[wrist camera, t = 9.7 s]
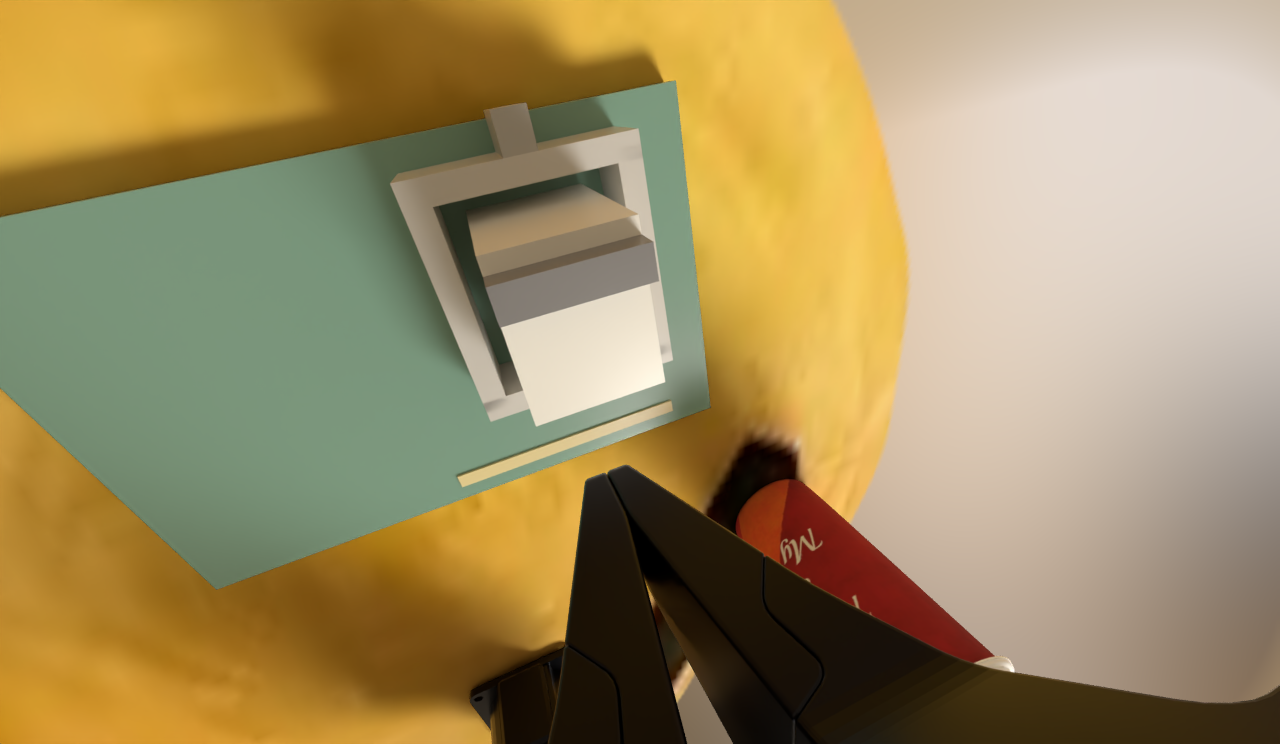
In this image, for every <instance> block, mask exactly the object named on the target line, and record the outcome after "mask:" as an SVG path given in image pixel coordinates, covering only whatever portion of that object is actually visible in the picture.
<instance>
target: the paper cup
mask: <svg viewBox="0 0 1280 744" xmlns="http://www.w3.org/2000/svg"><path fill="white" fill-rule="evenodd" d="M736 533H737V535H738V537H740V538H741V539H743V540H744V541H746V542H747V543H749V544H750V545H752V546H753V547H755V548H757V549H758V550H760V551H761V552H763V553H764V557H765V556H769V557H771V558H772V559H774V560H775V561H777V562H778V563H780V564H781V565H783V566H784V567H786V568H788V569H789V570H791V571H792V572H794V573H796V574H797V575H799V576H801V577H802V578H804V579H805V580H807V581H809V582H810V583H812V584H814V585H815V586H817V587H819V588H821V589H823V590H825V591H827V592H828V593H830V594H832V595H834V596H836V597H838V598H840V599H841V600H843V601H845V602H847V603H849V604H851V605H853V606H855V607H857V608H859V609H861V610H863V611H865V612H867V613H868V614H870V615H872V616H874V617H876V618H878V619H880V620H882V621H884V622H886V623H888V624H890V625H892V626H894V627H896V628H898V629H900V630H902V631H904V632H906V633H908V634H910V635H911V636H913V637H915V638H917V639H919V640H921V641H923V642H925V643H927V644H929V645H931V646H933V647H935V648H937V649H939V650H941V651H944V652H946V653H948V654H951V655H953V656H956V657H958V658H960V659H963V660H966V661H969V662H972V663H975V664H978V665H982V666H986V667H989V668H993V669H998V670H1004V671H1010V672H1014V667H1013V665H1012V663H1011V661H1010V660H1009V659H1008V658H1006V657H1003V656H994V655H993V654H992V653H991V652H990V651H989V650H988V649H986V648H985V647H984V646H983V645H982V644H981V643H980V642H979V641H978V640H977V639H975V638H974V637H973V636H972V635H971V634H970V633H969V632H968V631H967V630H965V629H964V628H963V627H962V626H961V625H960V624H959V623H958V622H957V621H956V620H955V619H954V618H952V617H951V616H950V615H949V614H948V613H947V612H946V611H945V610H944V609H943V608H941V607H940V606H939V605H938V604H937V603H936V602H935V601H934V600H933V599H932V598H930V597H929V596H928V595H927V594H926V593H925V592H924V591H923V590H922V589H921V588H920V587H918V586H917V585H916V584H915V583H914V582H913V581H912V580H911V579H910V578H908V577H907V576H906V575H905V574H904V573H903V572H902V571H901V570H900V569H899V568H898V567H897V566H895V565H894V564H893V563H892V562H891V561H890V560H889V559H888V558H887V557H886V556H884V555H883V554H882V553H881V552H880V551H879V550H878V549H877V548H876V547H875V546H873V545H872V544H871V543H870V542H869V541H867V539H865V538H864V537H863V536H862V535H861V534H860V533H859V532H858V531H857V530H856V529H855V528H854V527H852V526H851V525H850V524H849V523H848V522H847V521H846V520H845V519H844V518H842V517H841V516H840V515H839V514H838V513H837V512H836V511H835V510H834V509H832V508H831V507H830V506H829V505H828V504H827V503H826V502H825V501H823V500H822V499H821V498H820V497H819V496H818V495H817V494H815V493H814V492H813V491H812V490H811V489H810V488H808V487H807V486H806V485H805V484H803V483H802V482H800V481H798V480H795V479H782V480H778V481H775V482H772V483H770V484H768V485H766V486H764V487H763V488H761V489H760V490H758V491H757V492H756V493H754V494H753V495H752V496H751V497H750V498H749V499H748V500H747V501H746V503H745V504H744V505H743V507H742V508H741V510H740V512H739V514H738V516H737V520H736Z"/></svg>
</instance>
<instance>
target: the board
mask: <svg viewBox="0 0 1280 744" xmlns="http://www.w3.org/2000/svg"><path fill="white" fill-rule="evenodd" d="M483 112H484V115H485V118H484V119H479V120H474V121H469V122H465V123H460V124H455V125H450V126H445V127H440V128H435V129H430V130H425V131H420V132H415V133H410V134H405V135H400V136H395V137H390V138H386V139H381V140H376V141H371V142H366V143H361V144H356V145H351V146H346V147H341V148H336V149H331V150H326V151H321V152H316V153H311V154H307V155H302V156H297V157H292V158H287V159H282V160H277V161H272V162H267V163H262V164H257V165H252V166H247V167H242V168H237V169H232V170H228V171H223V172H218V173H213V174H208V175H203V176H198V177H193V178H188V179H183V180H178V181H173V182H168V183H163V184H158V185H153V186H149V187H144V188H139V189H134V190H129V191H124V192H119V193H114V194H109V195H104V196H99V197H94V198H89V199H84V200H79V201H74V202H70V203H65V204H60V205H55V206H50V207H45V208H40V209H35V210H30V211H25V212H20V213H15V214H10V215H5V216H0V388H1V389H2V390H3V391H4V392H5V393H6V394H7V395H8V396H9V397H10V398H11V399H12V400H14V401H15V402H16V403H17V404H18V405H19V406H20V407H21V408H22V409H23V410H24V411H25V412H26V413H27V414H29V415H30V416H31V417H32V418H33V419H34V420H35V421H36V422H37V423H38V424H39V425H40V426H41V427H43V428H44V429H45V430H46V431H47V432H48V433H49V434H50V435H51V436H52V437H53V438H54V439H55V440H56V441H58V442H59V443H60V444H61V445H62V446H63V447H64V448H65V449H66V450H67V451H68V452H69V453H70V454H71V455H73V456H74V457H75V458H76V459H77V460H78V461H79V462H80V463H81V464H82V465H83V466H84V467H85V468H86V469H88V470H89V471H90V472H91V473H92V474H93V475H94V476H95V477H96V478H97V479H98V480H99V481H100V482H101V483H103V484H104V485H105V486H106V487H107V488H108V489H109V490H110V491H111V492H112V493H113V494H114V495H115V496H116V497H118V498H119V499H120V500H121V501H122V502H123V503H124V504H125V505H126V506H127V507H128V508H129V509H130V510H132V511H133V512H134V513H135V514H136V515H137V516H138V517H139V518H140V519H141V520H142V521H143V522H144V523H145V524H147V525H148V526H149V527H150V528H151V529H152V530H153V531H154V532H155V533H156V534H157V535H158V536H159V537H160V538H162V539H163V540H164V541H165V542H166V543H167V544H168V545H169V546H170V547H171V548H172V549H173V550H174V551H175V552H177V553H178V554H179V555H180V556H181V557H182V558H183V559H184V560H185V561H186V562H187V563H188V564H189V565H190V566H192V567H193V568H194V569H195V570H196V571H197V572H198V573H199V574H200V575H201V576H202V577H203V578H204V579H205V580H207V581H208V582H209V583H210V584H211V585H212V586H213V587H214V588H215V589H216V590H217V589H220V588H223V587H225V586H228V585H231V584H233V583H236V582H239V581H242V580H244V579H247V578H250V577H252V576H255V575H258V574H260V573H263V572H266V571H269V570H271V569H274V568H277V567H279V566H282V565H285V564H288V563H290V562H293V561H296V560H298V559H301V558H304V557H307V556H309V555H312V554H315V553H317V552H320V551H323V550H326V549H328V548H331V547H334V546H336V545H339V544H342V543H345V542H347V541H350V540H353V539H355V538H358V537H361V536H364V535H366V534H369V533H372V532H374V531H377V530H380V529H383V528H385V527H388V526H391V525H393V524H396V523H399V522H402V521H404V520H407V519H410V518H412V517H415V516H418V515H421V514H423V513H426V512H429V511H431V510H434V509H437V508H440V507H442V506H445V505H448V504H450V503H453V502H456V501H459V500H461V499H464V498H467V497H469V496H472V495H475V494H478V493H480V492H483V491H486V490H488V489H491V488H494V487H497V486H499V485H502V484H505V483H507V482H510V481H513V480H516V479H518V478H521V477H524V476H526V475H529V474H532V473H535V472H537V471H540V470H543V469H545V468H548V467H551V466H554V465H556V464H559V463H562V462H564V461H567V460H570V459H573V458H575V457H578V456H581V455H583V454H586V453H589V452H592V451H594V450H597V449H600V448H602V447H605V446H608V445H611V444H613V443H616V442H619V441H621V440H624V439H627V438H630V437H632V436H635V435H638V434H640V433H643V432H646V431H649V430H651V429H654V428H657V427H659V426H662V425H665V424H668V423H670V422H673V421H676V420H678V419H681V418H684V417H686V416H689V415H692V414H695V413H697V412H700V411H703V410H705V409H708V408H711V406H710V397H709V387H708V378H707V369H706V359H705V350H704V341H703V331H702V322H701V312H700V303H699V294H698V284H697V275H696V265H695V256H694V247H693V237H692V228H691V219H690V209H689V200H688V190H687V181H686V172H685V162H684V153H683V143H682V134H681V125H680V115H679V106H678V97H677V87H676V81H668V82H662V83H657V84H652V85H647V86H642V87H637V88H632V89H628V90H623V91H618V92H613V93H608V94H603V95H598V96H593V97H588V98H583V99H578V100H573V101H568V102H563V103H558V104H553V105H548V106H544V107H539V108H534V109H529V110H528V107H527V104H526V103H517V104H511V105H506V106H501V107H496V108H491V109H486V110H483ZM580 183H581V184H583V185H584V186H586V187H588V188H590V189H592V190H594V191H596V192H598V193H599V194H601V195H603V196H605V197H607V198H609V199H611V200H613V201H615V202H616V203H618V204H620V205H622V206H624V207H626V208H628V209H630V210H632V211H633V212H635V213H637V214H639V220H640V226H641V233H642V235H644V236H645V237H647V238H648V239H650V240H652V241H653V242H654V249H655V256H656V263H657V270H658V276H659V281H658V282H654V283H651V284H650V289H651V295H652V302H653V308H654V314H655V320H656V327H657V333H658V339H659V346H660V352H661V358H662V364H663V371H664V377H665V382H664V383H661V384H658V385H655V386H652V387H650V388H647V389H644V390H641V391H638V392H635V393H632V394H629V395H626V396H623V397H621V398H618V399H615V400H612V401H609V402H606V403H603V404H600V405H597V406H594V407H591V408H589V409H586V410H583V411H580V412H577V413H574V414H571V415H568V416H565V417H562V418H560V419H557V420H554V421H551V422H548V423H545V424H542V425H539V426H536V425H535V422H534V419H533V417H532V414H531V411H530V408H529V405H528V403H527V400H526V397H525V394H524V391H523V388H522V386H521V383H520V380H519V377H518V374H517V372H516V369H515V366H514V363H513V360H512V358H511V355H510V352H509V349H508V346H507V343H506V341H505V338H504V335H503V332H502V329H501V328H500V327H499V324H498V322H497V319H496V316H495V313H494V310H493V308H492V305H491V302H490V299H489V296H488V293H487V291H486V288H485V284H484V279H483V276H482V273H481V270H480V267H479V265H478V262H477V259H476V256H475V251H474V247H473V242H472V237H471V233H470V228H469V224H468V219H467V214H466V211H467V210H471V209H475V208H479V207H484V206H488V205H492V204H496V203H500V202H505V201H509V200H513V199H517V198H521V197H526V196H530V195H534V194H538V193H543V192H547V191H551V190H555V189H559V188H564V187H568V186H572V185H576V184H580Z"/></svg>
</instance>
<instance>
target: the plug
mask: <svg viewBox="0 0 1280 744" xmlns="http://www.w3.org/2000/svg"><path fill="white" fill-rule="evenodd" d="M466 214H467V219H468V224H469V228H470V233H471V237H472V242H473V247H474V251H475V256H476V259H477V262H478V265H479V267H480V270H481V273H482V276H483V279H484V284H485V288H486V291H487V293H488V296H489V299H490V302H491V305H492V308H493V310H494V313H495V316H496V319H497V322H498V324H499V327H500V328H501V329H502V332H503V335H504V338H505V341H506V343H507V346H508V349H509V352H510V355H511V358H512V360H513V363H514V366H515V369H516V372H517V374H518V377H519V380H520V383H521V386H522V388H523V391H524V394H525V397H526V400H527V403H528V405H529V408H530V411H531V414H532V417H533V419H534V422H535V425H536V426H539V425H542V424H545V423H548V422H551V421H554V420H557V419H560V418H562V417H565V416H568V415H571V414H574V413H577V412H580V411H583V410H586V409H589V408H591V407H594V406H597V405H600V404H603V403H606V402H609V401H612V400H615V399H618V398H621V397H623V396H626V395H629V394H632V393H635V392H638V391H641V390H644V389H647V388H650V387H652V386H655V385H658V384H661V383H664V382H665V377H664V371H663V364H662V358H661V352H660V346H659V339H658V333H657V327H656V320H655V314H654V308H653V302H652V295H651V289H650V284H651V283H654V282H658V281H659V276H658V270H657V263H656V256H655V249H654V242H653V241H652V240H650V239H648V238H647V237H645V236H644V235H642V233H641V226H640V220H639V214H637V213H635V212H633V211H632V210H630V209H628V208H626V207H624V206H622V205H620V204H618V203H616V202H615V201H613V200H611V199H609V198H607V197H605V196H603V195H601V194H599V193H598V192H596V191H594V190H592V189H590V188H588V187H586V186H584V185H583V184H581V183H580V184H576V185H572V186H568V187H564V188H559V189H555V190H551V191H547V192H543V193H538V194H534V195H530V196H526V197H521V198H517V199H513V200H509V201H505V202H500V203H496V204H492V205H488V206H484V207H479V208H475V209H471V210H467V211H466Z"/></svg>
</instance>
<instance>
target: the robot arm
mask: <svg viewBox="0 0 1280 744" xmlns="http://www.w3.org/2000/svg"><path fill="white" fill-rule="evenodd" d="M646 584H647V586H648V588H649V590H650V592H651V594H652V596H653V597H654V599H655V601H656V603H657V605H658V607H659V608H660V610H661V612H662V614H663V616H664V618H665V619H666V621H667V623H668V625H669V627H670V629H671V630H672V632H673V634H674V636H675V638H676V640H677V641H678V643H679V645H680V647H681V649H682V651H683V652H684V654H685V656H686V658H687V660H688V662H689V663H690V665H691V667H692V669H693V671H694V673H695V674H696V676H697V678H698V680H699V682H700V684H701V685H702V687H703V689H704V691H705V692H706V694H707V696H708V698H709V700H710V702H711V704H712V706H713V707H714V709H715V711H716V713H717V715H718V717H719V718H720V720H721V722H722V724H723V726H724V727H725V729H726V731H727V733H728V735H729V737H730V738H731V740H732V742H733V744H1280V685H1278V686H1277V687H1276V688H1274V689H1273V690H1271V691H1270V692H1268V693H1267V694H1266V695H1264V696H1262V697H1259V698H1256V699H1253V700H1249V701H1241V702H1233V703H1209V702H1208V703H1207V702H1197V701H1188V700H1179V699H1172V698H1166V697H1160V696H1154V695H1148V694H1142V693H1136V692H1130V691H1124V690H1117V689H1112V688H1106V687H1100V686H1094V685H1088V684H1082V683H1076V682H1069V681H1064V680H1058V679H1051V678H1045V677H1039V676H1033V675H1028V674H1022V673H1015V672H1010V671H1004V670H998V669H993V668H989V667H986V666H982V665H978V664H975V663H972V662H969V661H966V660H963V659H960V658H958V657H956V656H953V655H951V654H948V653H946V652H944V651H941V650H939V649H937V648H935V647H933V646H931V645H929V644H927V643H925V642H923V641H921V640H919V639H917V638H915V637H913V636H911V635H910V634H908V633H906V632H904V631H902V630H900V629H898V628H896V627H894V626H892V625H890V624H888V623H886V622H884V621H882V620H880V619H878V618H876V617H874V616H872V615H870V614H868V613H867V612H865V611H863V610H861V609H859V608H857V607H855V606H853V605H851V604H849V603H847V602H845V601H843V600H841V599H840V598H838V597H836V596H834V595H832V594H830V593H828V592H827V591H825V590H823V589H821V588H819V587H817V586H815V585H814V584H812V583H810V582H809V581H807V580H805V579H804V578H802V577H801V576H799V575H797V574H796V573H794V572H792V571H791V570H789V569H788V568H786V567H784V566H783V565H781V564H780V563H778V562H777V561H775V560H774V559H772V558H771V557H769V556H765V557H764V553H763V552H761V551H760V550H758V549H757V548H755V547H753V546H752V545H750V544H749V543H747V542H746V541H744V540H743V539H741V538H740V537H738V536H737V535H735V534H733V533H732V532H730V531H729V530H727V529H726V528H724V527H723V526H721V525H720V524H718V523H717V522H715V521H713V520H712V519H710V518H709V517H707V516H706V515H704V514H703V513H701V512H700V511H698V510H697V509H695V508H693V507H692V506H690V505H689V504H687V503H686V502H684V501H683V500H681V499H680V498H678V497H677V496H675V495H673V494H672V493H670V492H669V491H667V490H666V489H664V488H663V487H661V486H660V485H658V484H657V483H655V482H653V481H652V480H650V479H649V478H647V477H646V476H644V475H643V474H641V473H640V472H638V471H637V470H635V469H633V468H632V467H630V466H629V465H623V466H620V467H617V468H615V469H612V470H610V471H609V472H608V474H605V473H602V474H599V475H596V476H594V477H591V478H588V479H587V480H586V482H585V486H584V494H583V502H582V510H581V518H580V526H579V534H578V542H577V550H576V558H575V566H574V574H573V582H572V590H571V598H570V606H569V614H568V622H567V630H566V638H565V645H566V647H565V648H563V649H561V650H558V651H556V652H554V653H552V654H550V655H547V656H545V657H543V658H541V659H539V660H536V661H534V662H532V663H530V664H528V665H525V666H523V667H521V668H519V669H517V670H514V671H512V672H510V673H508V674H506V675H503V676H501V677H499V678H497V679H495V680H492V681H490V682H488V683H486V684H484V685H481V686H479V687H477V688H475V689H473V690H472V691H471V692H470V694H469V695H470V703H471V705H472V706H473V707H474V708H475V710H476V711H477V712H478V714H479V715H480V716H481V718H482V719H483V720H484V722H485V723H486V724H487V726H488V727H489V728H490V730H491V736H492V744H687V741H686V737H685V733H684V729H683V726H682V722H681V718H680V714H679V710H678V706H677V702H676V698H675V694H674V691H673V687H672V683H671V679H670V675H669V671H668V667H667V664H666V660H665V656H664V652H663V648H662V644H661V640H660V637H659V633H658V629H657V625H656V621H655V617H654V613H653V610H652V606H651V602H650V598H649V594H648V590H647V586H646Z"/></svg>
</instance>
